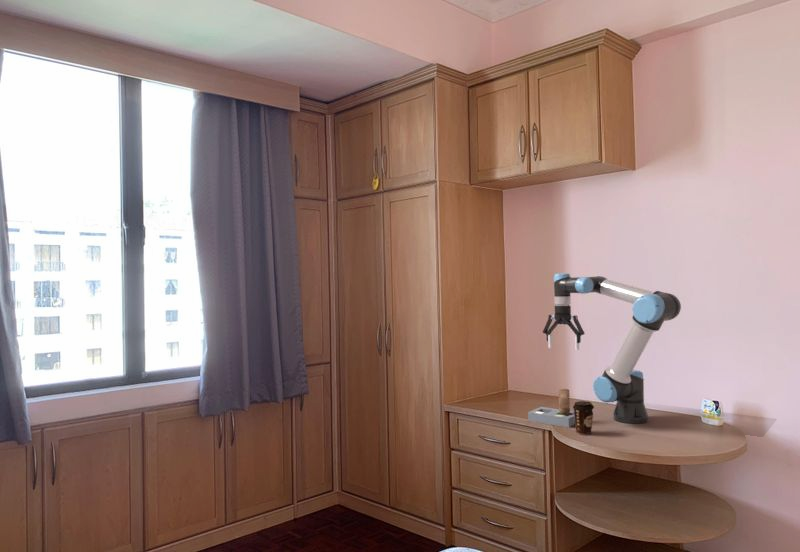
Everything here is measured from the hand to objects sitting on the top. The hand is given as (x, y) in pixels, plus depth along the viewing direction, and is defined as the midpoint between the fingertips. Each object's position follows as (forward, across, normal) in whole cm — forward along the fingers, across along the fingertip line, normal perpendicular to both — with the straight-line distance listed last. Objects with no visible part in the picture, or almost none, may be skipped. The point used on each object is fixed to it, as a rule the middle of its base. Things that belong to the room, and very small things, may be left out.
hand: (563, 348), depth 280 cm
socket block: (+31, -2, +16) cm, 35 cm away
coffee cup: (+31, -20, +28) cm, 47 cm away
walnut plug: (+31, -7, +16) cm, 36 cm away
